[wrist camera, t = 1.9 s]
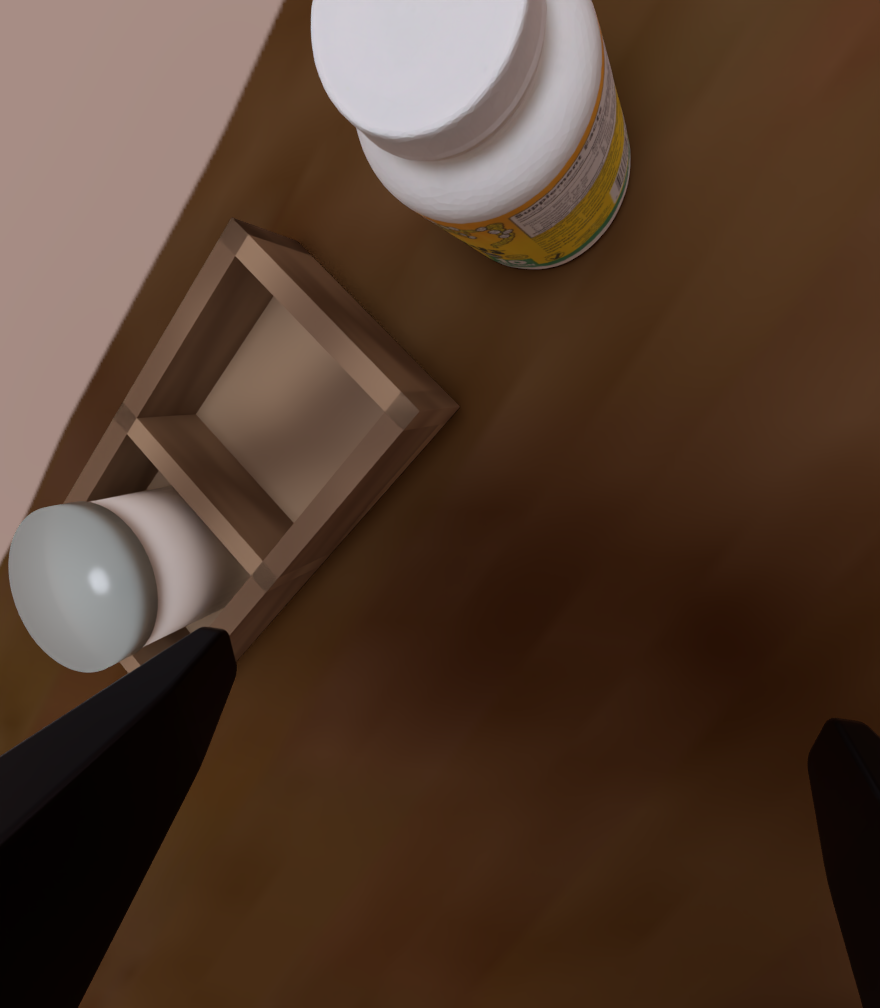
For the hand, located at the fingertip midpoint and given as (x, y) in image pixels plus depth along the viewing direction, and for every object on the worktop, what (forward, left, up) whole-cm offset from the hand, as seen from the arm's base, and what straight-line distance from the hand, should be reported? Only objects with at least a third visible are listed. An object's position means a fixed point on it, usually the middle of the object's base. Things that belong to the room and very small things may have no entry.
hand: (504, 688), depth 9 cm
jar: (+10, +13, -11) cm, 20 cm away
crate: (+10, +9, -12) cm, 18 cm away
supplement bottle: (+9, -6, -12) cm, 16 cm away
